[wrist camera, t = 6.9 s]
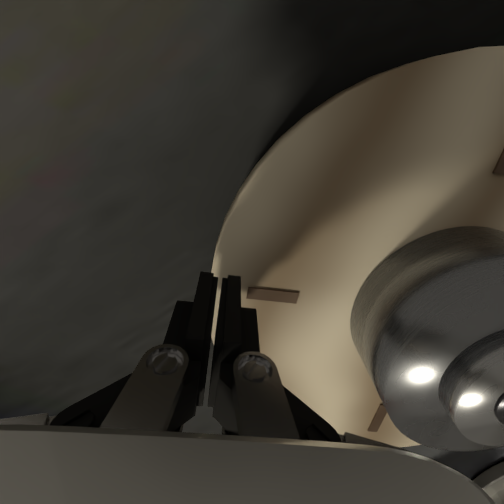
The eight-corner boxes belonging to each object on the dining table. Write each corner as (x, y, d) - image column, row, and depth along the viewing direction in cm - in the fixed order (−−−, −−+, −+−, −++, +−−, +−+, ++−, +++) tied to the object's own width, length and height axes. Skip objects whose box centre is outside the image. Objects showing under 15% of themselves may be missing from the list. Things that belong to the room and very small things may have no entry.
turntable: (741, 103, 13) (826, 102, 11) (493, 428, 22) (516, 458, 20) (239, 4, 11) (239, -18, 9) (197, 408, 20) (193, 439, 18)
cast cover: (578, 243, 13) (758, 314, 9) (477, 384, 17) (565, 487, 12) (390, 210, 12) (481, 270, 8) (327, 367, 16) (363, 472, 11)
